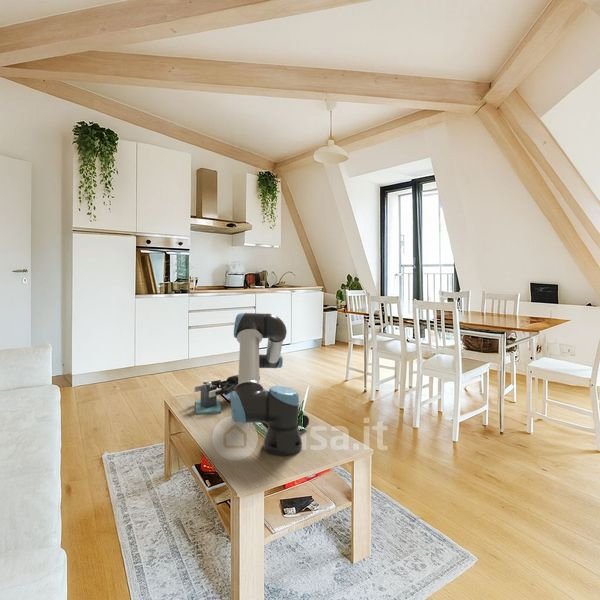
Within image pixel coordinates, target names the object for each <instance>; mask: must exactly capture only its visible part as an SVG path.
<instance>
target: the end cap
mask: <svg viewBox="0 0 600 600" xmlns="http://www.w3.org/2000/svg"><path fill="white" fill-rule="evenodd" d="M309 423H310V418H309V417H308V415H306V414H304V413H303V427H304V428H305V429H306V428H307V427H308V426H309Z"/></svg>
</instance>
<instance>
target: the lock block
mask: <svg viewBox="0 0 600 600" xmlns="http://www.w3.org/2000/svg"><path fill="white" fill-rule="evenodd" d="M205 382H206V385H204V386H201V391H200V400H201V403H200V406H202V407H204V408H210V407H213V406H216V405H217V399H218V398H217V396H218V395H217V396H213V397H209V392H210V391H213V390H217V389H218V388H217V386H215V385H212V384H211V382H210V381H205Z"/></svg>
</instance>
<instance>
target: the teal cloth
mask: <svg viewBox="0 0 600 600" xmlns="http://www.w3.org/2000/svg"><path fill="white" fill-rule="evenodd" d="M195 402H196V403H195V415H207V413H211V414H222V405H221V399H220V398H217V405H216V406H213V407H210V408H204V407H202V406H200V403H201V399H195Z"/></svg>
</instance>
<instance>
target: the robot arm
mask: <svg viewBox="0 0 600 600" xmlns="http://www.w3.org/2000/svg"><path fill="white" fill-rule="evenodd" d="M287 333H288V331H287V327H286V325H285V323H284V321H283V320H282V319H281V318H280V317H279V316H277V315H275V314H273V313H259V312H258V313H257V312H256V313H253V312H252V313H251V312H248V313H247V312H240V313H237V315H236V317H235V321H234V327H233V337H234V338H235V339H236V341H237V342H238V343H239V357H238V358H239V359H238V360H239V361H238V374H235V375H231V376H229V377H227V378H226V380H221V379H219V380H212V381H211V380H210V381H209V382H211V384H212V385H215V386H217V390H213V391H210V392H209V397H213V396H220V395H225V396H227V395H229V396H230V411H231V412H230V413H231V419H232V421H233V422H234V423H237V424H238V423H241V424H246V423H248V424H249V423H251V424H252V423H254V424H255V423H268V428H267V430H266V434H265V436H264V439H263V449H264V451H266V452H267V453H269V454H270V455H271V454H272V455H275V456H291V455H296V454H298V453H299V452H300V451H301V450H302V448H303V440H302V437H301V434H300V431H299V429H298V412H300V410H299V409H300V407H299V406H300V398H299V397H300V395H299V393H298V391H296V389H294V388H291V387H288V386H284V385H283V386H282V385H273V386H271V387H269V389H268V390H264V387H263V386H262V384H260V380H261V376H260V369H282V367H283V363H284V361H283V360H284V358H283V355H282V354H281V351H282V347H283V343H284V340H285V339H286V337H287ZM263 339H267V346H266V352H265V353H266V354H260V343H261V342H262V341H263ZM206 382H207V381H203V382H202V384H199V385H194V388H193V389H194V391H193V392H194V393H197V392H201V386H204V385H206Z"/></svg>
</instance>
